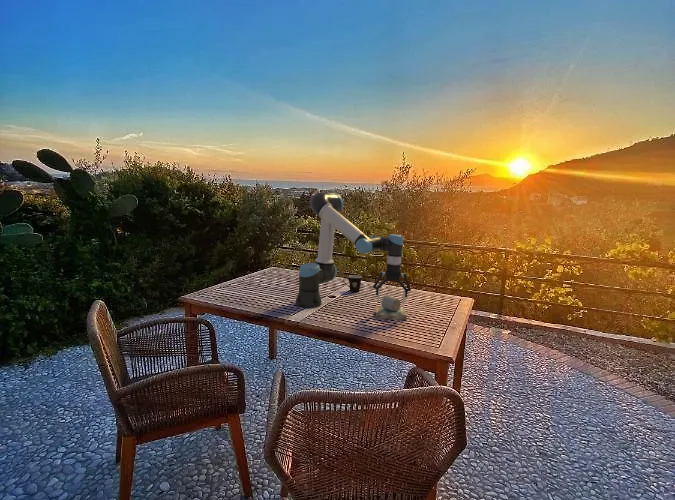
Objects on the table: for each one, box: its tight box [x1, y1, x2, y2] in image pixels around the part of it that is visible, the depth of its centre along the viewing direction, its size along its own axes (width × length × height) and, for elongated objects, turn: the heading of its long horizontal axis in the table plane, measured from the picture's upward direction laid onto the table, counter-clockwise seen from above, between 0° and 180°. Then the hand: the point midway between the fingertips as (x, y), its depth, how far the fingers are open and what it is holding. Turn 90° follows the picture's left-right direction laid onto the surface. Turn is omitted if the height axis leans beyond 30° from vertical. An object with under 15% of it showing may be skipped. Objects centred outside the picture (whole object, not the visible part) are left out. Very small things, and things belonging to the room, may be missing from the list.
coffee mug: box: [342, 274, 363, 293], centre depth 251 cm, size 12×9×10 cm
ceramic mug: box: [381, 294, 402, 311], centre depth 204 cm, size 11×8×8 cm
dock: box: [375, 305, 408, 321], centre depth 204 cm, size 16×12×3 cm
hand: (390, 302), depth 203 cm, fingers open, 13 cm apart
